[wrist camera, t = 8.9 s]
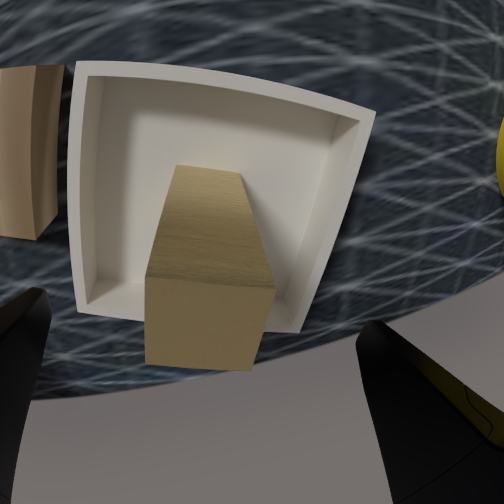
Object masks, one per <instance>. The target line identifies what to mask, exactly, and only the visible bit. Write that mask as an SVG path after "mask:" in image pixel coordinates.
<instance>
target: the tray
mask: <svg viewBox="0 0 504 504" xmlns="http://www.w3.org/2000/svg"><path fill="white" fill-rule="evenodd" d="M375 115H376V112H375V111H372V110H369V109H367V108H364V107H361V106H358V105H355V104H352V103H349V102H345V101H342V100H339V99H336V98H333V97H329V96H326V95H322V94H319V93H315V92H312V91H308V90H304V89H300V88H297V87H293V86H289V85H284V84H280V83H276V82H272V81H267V80H262V79H258V78H253V77H248V76H243V75H237V74H232V73H226V72H220V71H213V70H207V69H200V68H192V67H184V66H175V65H165V64H154V63H140V62H120V61H76V67H75V74H74V82H73V90H72V99H71V109H70V121H69V136H68V160H67V201H68V226H69V241H70V254H71V264H72V273H73V282H74V290H75V297H76V304H77V310H78V312H82V313H88V314H94V315H101V316H108V317H115V318H123V319H130V320H138V321H144V291H145V274H146V269H147V265H148V261H149V257H150V254H151V250H152V246H153V242H154V238H155V235H156V231H157V227H158V224H159V220H160V217H161V213H162V210H163V206H164V203H165V199H166V196H167V193H168V189H169V186H170V183H171V180H172V176H173V173H174V170H175V167H176V164H177V165H186V166H194V167H202V168H209V169H216V170H224V171H230V172H237V173H240V176H241V180H242V183H243V186H244V189H245V192H246V195H247V198H248V201H249V204H250V207H251V210H252V213H253V217H254V220H255V223H256V226H257V229H258V232H259V235H260V238H261V241H262V245H263V248H264V251H265V254H266V257H267V260H268V263H269V267H270V270H271V273H272V276H273V279H274V282H275V286H276V289H277V290H276V294H275V297H274V300H273V303H272V306H271V310H270V313H269V316H268V319H267V322H266V326H265V329H264V332H283V333H299V332H300V330H301V327H302V325H303V323H304V320H305V318H306V315H307V313H308V310H309V308H310V305H311V303H312V300H313V298H314V295H315V293H316V290H317V288H318V285H319V282H320V280H321V277H322V275H323V272H324V269H325V267H326V264H327V261H328V259H329V256H330V253H331V251H332V248H333V245H334V242H335V240H336V237H337V234H338V231H339V228H340V225H341V223H342V220H343V217H344V214H345V211H346V208H347V205H348V202H349V199H350V196H351V193H352V190H353V187H354V184H355V181H356V178H357V175H358V172H359V168H360V165H361V162H362V159H363V155H364V152H365V149H366V146H367V142H368V139H369V135H370V132H371V129H372V125H373V122H374V118H375Z"/></svg>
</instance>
